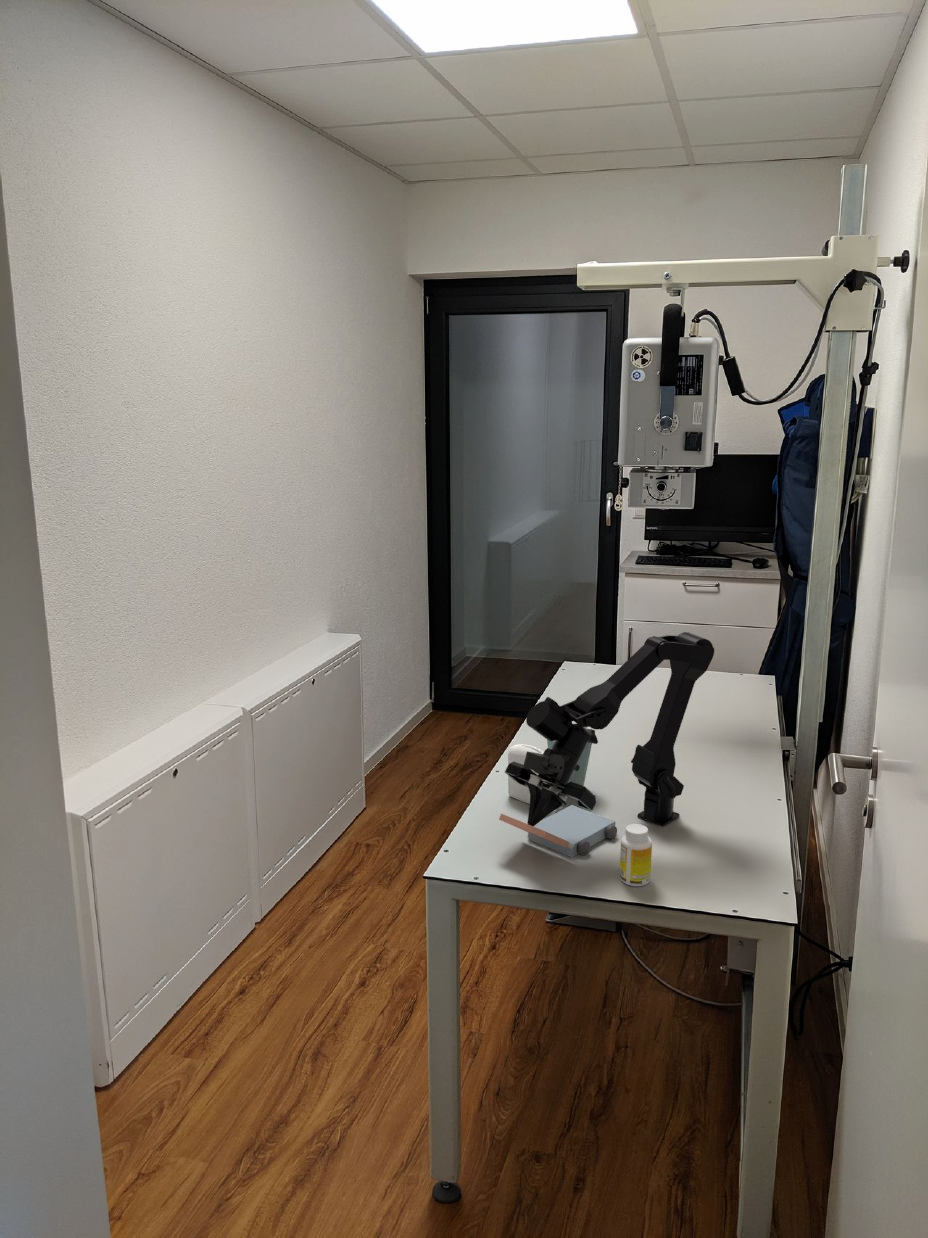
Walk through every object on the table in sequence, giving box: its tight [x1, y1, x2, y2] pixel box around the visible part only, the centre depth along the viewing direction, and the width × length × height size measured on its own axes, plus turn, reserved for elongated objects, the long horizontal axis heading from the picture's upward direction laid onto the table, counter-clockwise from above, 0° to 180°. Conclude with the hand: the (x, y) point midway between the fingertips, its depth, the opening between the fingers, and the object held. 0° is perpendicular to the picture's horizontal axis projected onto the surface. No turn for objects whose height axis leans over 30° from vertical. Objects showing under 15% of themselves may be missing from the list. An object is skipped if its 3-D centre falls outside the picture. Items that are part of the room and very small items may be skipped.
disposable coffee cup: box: [546, 721, 593, 787], centre depth 210 cm, size 11×11×15 cm
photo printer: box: [507, 743, 548, 805], centre depth 205 cm, size 10×4×12 cm, turn 45°
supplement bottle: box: [619, 823, 653, 887], centre depth 172 cm, size 6×6×10 cm
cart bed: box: [527, 804, 618, 858], centre depth 190 cm, size 14×14×3 cm
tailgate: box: [498, 813, 574, 849], centre depth 181 cm, size 1×12×9 cm
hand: (530, 825), depth 180 cm, fingers closed, pressing on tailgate
